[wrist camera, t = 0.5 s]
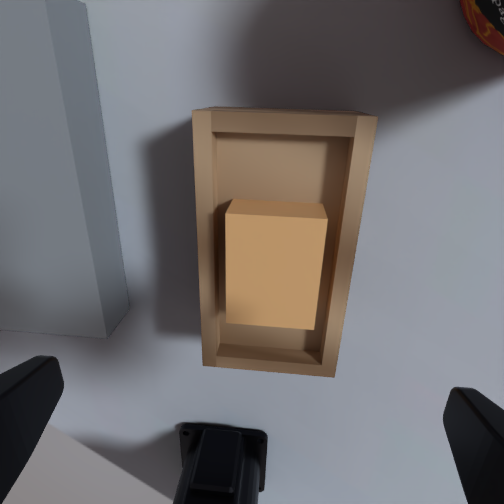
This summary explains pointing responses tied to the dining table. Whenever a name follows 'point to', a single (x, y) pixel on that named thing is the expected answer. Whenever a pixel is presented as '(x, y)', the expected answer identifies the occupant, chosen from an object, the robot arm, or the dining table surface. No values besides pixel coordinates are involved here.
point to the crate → (274, 262)
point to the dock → (55, 178)
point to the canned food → (486, 21)
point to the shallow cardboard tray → (287, 190)
